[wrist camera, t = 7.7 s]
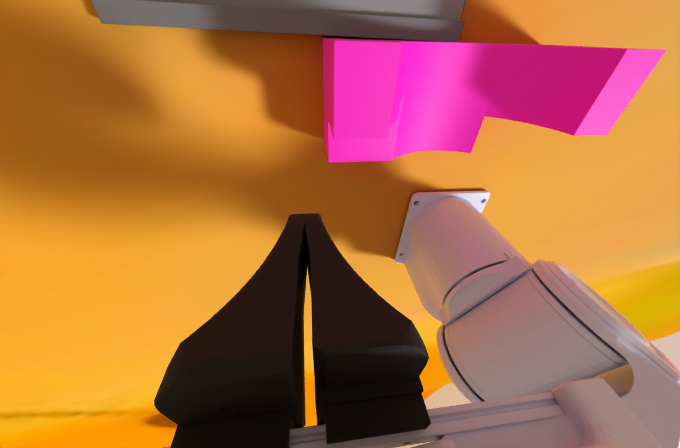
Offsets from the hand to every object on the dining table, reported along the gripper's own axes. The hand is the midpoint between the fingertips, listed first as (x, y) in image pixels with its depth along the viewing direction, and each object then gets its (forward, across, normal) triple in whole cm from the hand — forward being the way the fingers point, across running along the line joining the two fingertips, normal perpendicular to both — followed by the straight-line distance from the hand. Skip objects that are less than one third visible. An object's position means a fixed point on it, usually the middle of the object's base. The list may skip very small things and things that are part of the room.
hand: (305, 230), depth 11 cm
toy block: (+10, -9, -4) cm, 14 cm away
